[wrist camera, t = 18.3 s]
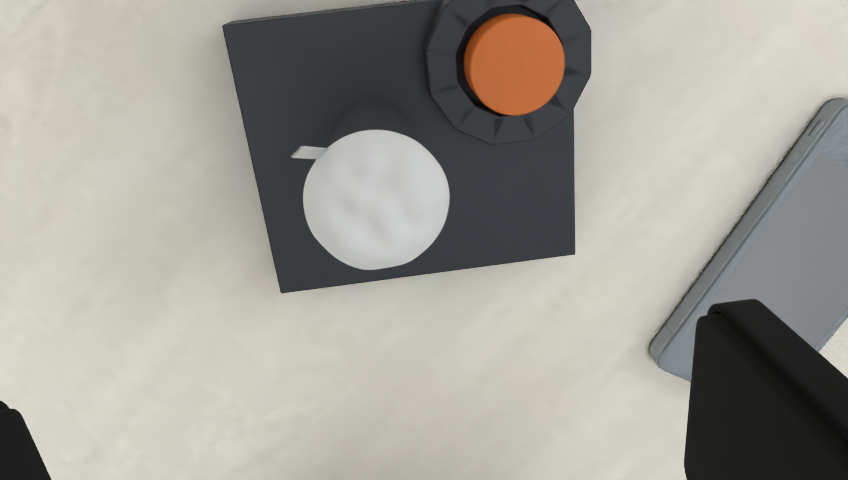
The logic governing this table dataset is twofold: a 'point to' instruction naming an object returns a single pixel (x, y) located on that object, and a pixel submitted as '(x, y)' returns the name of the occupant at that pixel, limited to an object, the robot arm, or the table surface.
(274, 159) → the dark grey flat block
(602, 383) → the table surface
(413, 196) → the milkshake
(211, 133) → the table surface
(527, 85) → the button
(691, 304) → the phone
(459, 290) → the table surface
